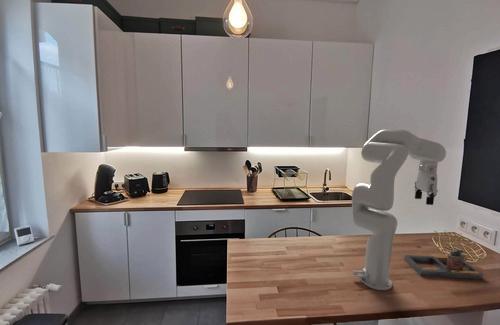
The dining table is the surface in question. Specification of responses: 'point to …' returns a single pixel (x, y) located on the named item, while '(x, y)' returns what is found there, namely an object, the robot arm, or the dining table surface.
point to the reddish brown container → (455, 260)
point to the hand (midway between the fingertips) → (423, 201)
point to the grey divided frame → (441, 267)
